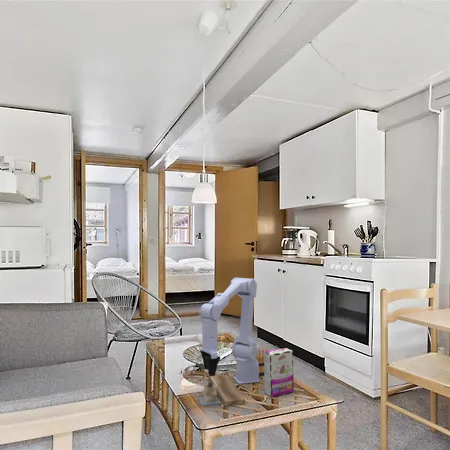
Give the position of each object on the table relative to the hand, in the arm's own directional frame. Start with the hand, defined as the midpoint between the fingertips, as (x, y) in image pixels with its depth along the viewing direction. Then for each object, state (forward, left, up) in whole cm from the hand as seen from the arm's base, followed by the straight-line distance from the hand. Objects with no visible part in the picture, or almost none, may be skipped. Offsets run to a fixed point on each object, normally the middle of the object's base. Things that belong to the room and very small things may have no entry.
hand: (209, 372), depth 136 cm
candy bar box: (-28, +1, -11) cm, 30 cm away
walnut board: (-8, -6, -10) cm, 15 cm away
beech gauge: (0, +1, -10) cm, 10 cm away
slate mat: (0, +1, -10) cm, 10 cm away
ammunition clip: (-28, -19, -11) cm, 36 cm away
